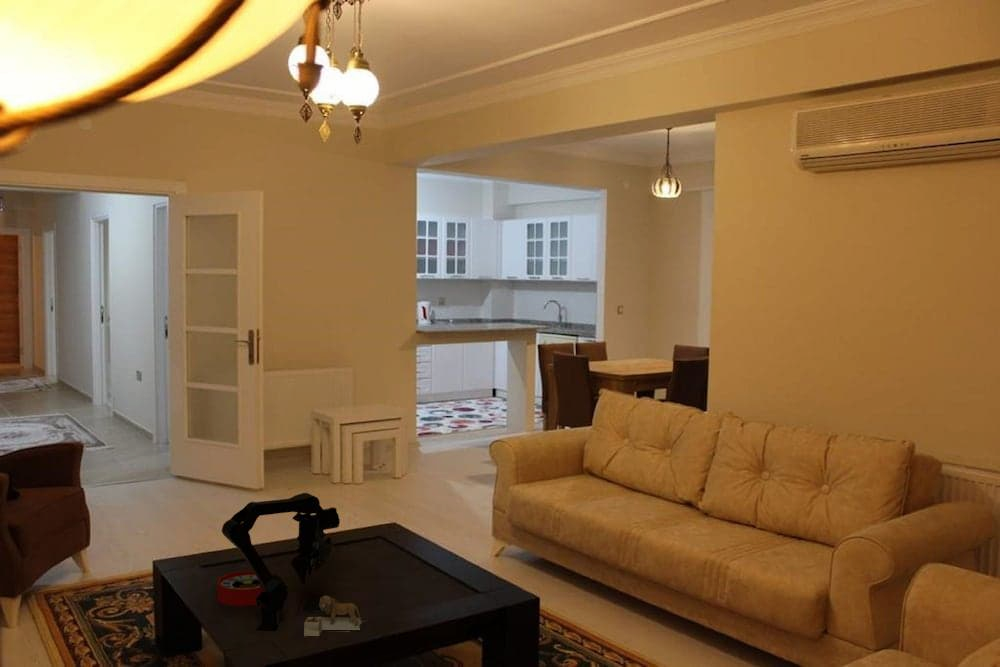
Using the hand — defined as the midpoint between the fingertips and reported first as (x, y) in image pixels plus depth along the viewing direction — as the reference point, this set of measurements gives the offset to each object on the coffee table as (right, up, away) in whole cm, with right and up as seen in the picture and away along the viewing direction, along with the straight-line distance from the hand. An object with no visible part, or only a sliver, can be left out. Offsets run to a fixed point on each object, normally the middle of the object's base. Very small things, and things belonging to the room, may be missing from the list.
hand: (306, 579), depth 283 cm
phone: (-1, -13, +13) cm, 18 cm away
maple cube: (+5, -14, -12) cm, 19 cm away
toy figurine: (-10, -10, +56) cm, 57 cm away
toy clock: (-25, -12, +19) cm, 34 cm away
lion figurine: (+12, -13, -4) cm, 18 cm away
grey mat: (+12, -14, -4) cm, 18 cm away
